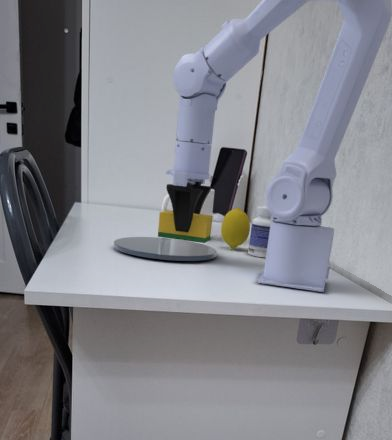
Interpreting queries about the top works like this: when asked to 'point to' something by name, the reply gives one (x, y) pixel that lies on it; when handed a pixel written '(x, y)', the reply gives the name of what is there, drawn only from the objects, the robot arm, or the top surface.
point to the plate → (165, 248)
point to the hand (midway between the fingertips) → (185, 229)
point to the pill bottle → (260, 232)
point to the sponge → (197, 231)
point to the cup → (206, 207)
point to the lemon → (235, 228)
